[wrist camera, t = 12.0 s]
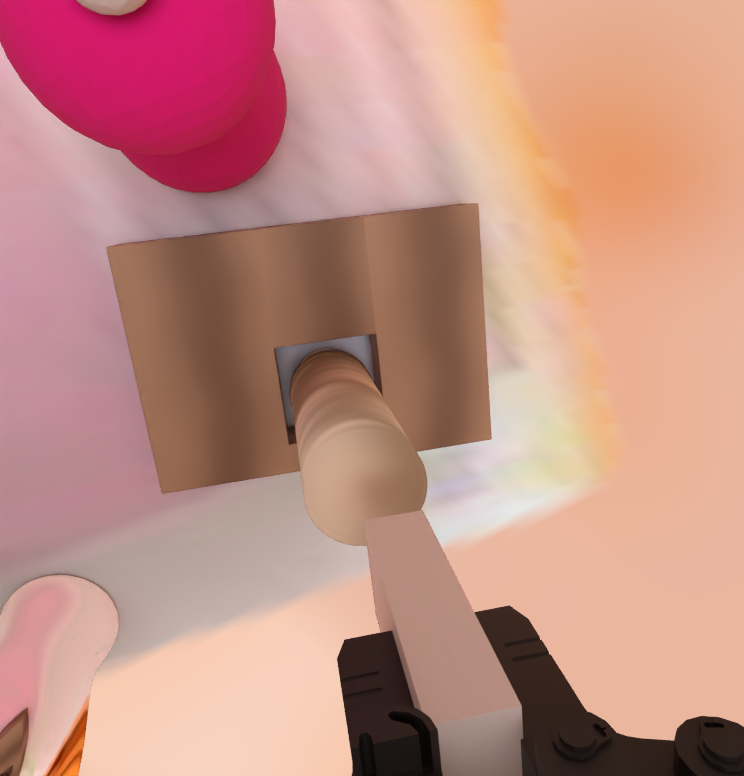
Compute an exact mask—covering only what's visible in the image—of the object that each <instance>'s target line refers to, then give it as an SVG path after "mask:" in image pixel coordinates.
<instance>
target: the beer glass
mask: <svg viewBox="0 0 744 776" xmlns="http://www.w3.org/2000/svg"><path fill="white" fill-rule="evenodd" d="M118 629H119V617H118V612H117V609H116V607H115V604H114V603H113V601H112V599H111V598H110V597H109V596H108V594H107V593H106V592H105V591H104V590H102V589H101V588H100V587H99V586H97V585H96V584H94V583H92V582H90V581H88V580H85V579H83V578H79V577H75V576H70V575H49V576H44V577H40V578H37V579H34V580H32V581H30V582H28V583H26V584H24V585H23V586H21V587H20V588H19V589H17V590H16V591H15V592H14V593H13V594H12V595H11V596H10V598H9V599H8V600H7V602H6V604H5V605H4V607H3V609H2V612H1V614H0V776H78V774H79V769H80V763H81V758H82V753H83V747H84V740H85V731H86V724H87V714H88V706H89V698H90V691H91V685H92V682H93V678H94V676H95V673H96V671H97V669H98V668H99V666H100V665H101V663H102V662H103V660H104V659H105V657H106V656H107V654H108V653H109V651H110V649H111V648H112V646H113V644H114V642H115V640H116V637H117V634H118Z"/></svg>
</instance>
